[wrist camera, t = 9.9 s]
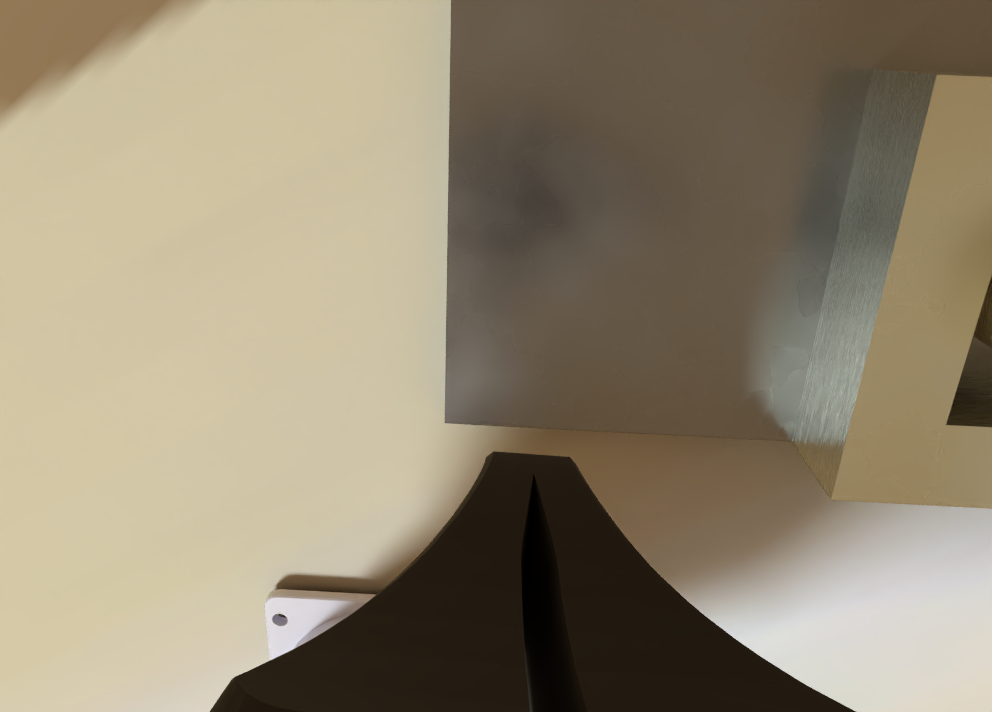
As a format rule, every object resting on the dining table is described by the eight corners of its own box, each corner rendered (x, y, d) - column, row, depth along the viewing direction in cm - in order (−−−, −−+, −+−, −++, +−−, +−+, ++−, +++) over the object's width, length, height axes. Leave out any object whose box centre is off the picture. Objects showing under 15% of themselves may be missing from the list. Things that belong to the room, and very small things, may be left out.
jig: (1119, 442, 22) (1237, 521, 19) (448, 407, 23) (433, 478, 19) (1342, -103, 17) (1568, -142, 13) (457, -138, 17) (439, -185, 14)
